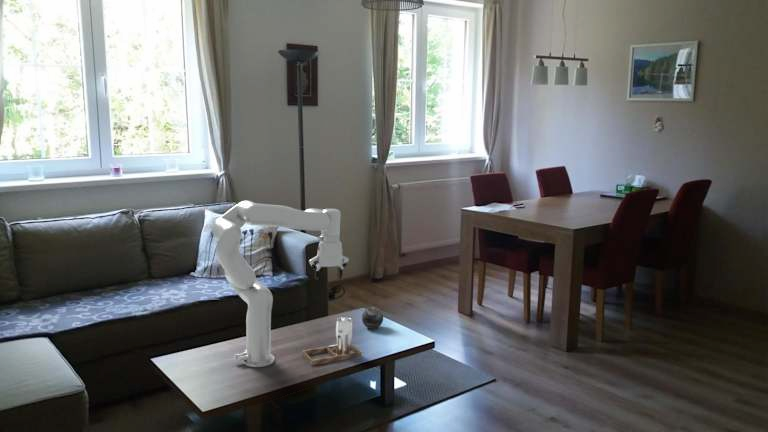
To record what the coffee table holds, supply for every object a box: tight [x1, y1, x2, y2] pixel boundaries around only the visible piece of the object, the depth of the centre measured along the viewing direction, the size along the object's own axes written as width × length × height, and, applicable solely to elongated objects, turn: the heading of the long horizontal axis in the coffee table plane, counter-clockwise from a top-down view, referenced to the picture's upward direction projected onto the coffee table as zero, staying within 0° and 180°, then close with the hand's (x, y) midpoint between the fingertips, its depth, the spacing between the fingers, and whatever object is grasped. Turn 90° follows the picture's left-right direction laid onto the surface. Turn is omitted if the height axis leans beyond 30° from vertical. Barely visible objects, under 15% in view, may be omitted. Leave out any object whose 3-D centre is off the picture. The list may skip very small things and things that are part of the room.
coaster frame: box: [301, 342, 363, 366], centre depth 257 cm, size 22×11×2 cm, turn 118°
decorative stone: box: [361, 306, 384, 330], centre depth 289 cm, size 10×10×10 cm
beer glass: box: [335, 316, 354, 356], centre depth 258 cm, size 7×7×15 cm
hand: (328, 278), depth 259 cm, fingers open, 9 cm apart
